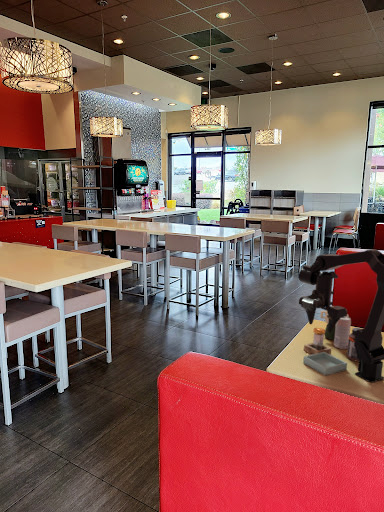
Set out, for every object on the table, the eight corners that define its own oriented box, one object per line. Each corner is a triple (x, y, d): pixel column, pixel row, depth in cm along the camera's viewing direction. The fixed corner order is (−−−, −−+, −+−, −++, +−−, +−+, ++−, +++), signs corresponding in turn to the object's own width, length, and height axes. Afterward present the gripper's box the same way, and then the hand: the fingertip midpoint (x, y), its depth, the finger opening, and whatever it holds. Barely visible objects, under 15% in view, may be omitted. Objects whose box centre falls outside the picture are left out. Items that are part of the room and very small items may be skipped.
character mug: (345, 337, 162) (349, 308, 159) (345, 343, 155) (349, 312, 153) (319, 333, 166) (321, 304, 163) (317, 338, 159) (320, 308, 157)
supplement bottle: (349, 353, 145) (352, 325, 143) (365, 358, 141) (369, 329, 140) (344, 358, 141) (347, 329, 139) (361, 363, 137) (364, 333, 135)
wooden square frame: (330, 354, 144) (331, 348, 144) (317, 357, 141) (318, 351, 140) (316, 347, 150) (317, 341, 150) (303, 350, 147) (304, 344, 146)
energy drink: (345, 344, 154) (348, 316, 152) (349, 349, 149) (353, 320, 147) (332, 343, 154) (335, 315, 152) (335, 348, 149) (338, 319, 147)
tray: (346, 369, 131) (347, 363, 131) (325, 375, 127) (326, 368, 126) (323, 358, 140) (324, 351, 140) (303, 363, 135) (303, 356, 135)
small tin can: (325, 353, 145) (327, 330, 143) (317, 355, 143) (319, 332, 141) (317, 349, 148) (319, 327, 147) (309, 350, 146) (311, 328, 145)
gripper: (289, 284, 145) (286, 323, 148) (327, 296, 129) (323, 340, 132) (311, 281, 151) (307, 319, 153) (350, 293, 134) (345, 335, 137)
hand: (319, 328), depth 144 cm, fingers open, 9 cm apart
